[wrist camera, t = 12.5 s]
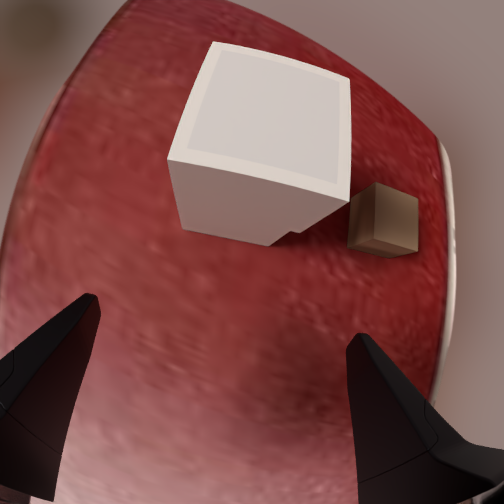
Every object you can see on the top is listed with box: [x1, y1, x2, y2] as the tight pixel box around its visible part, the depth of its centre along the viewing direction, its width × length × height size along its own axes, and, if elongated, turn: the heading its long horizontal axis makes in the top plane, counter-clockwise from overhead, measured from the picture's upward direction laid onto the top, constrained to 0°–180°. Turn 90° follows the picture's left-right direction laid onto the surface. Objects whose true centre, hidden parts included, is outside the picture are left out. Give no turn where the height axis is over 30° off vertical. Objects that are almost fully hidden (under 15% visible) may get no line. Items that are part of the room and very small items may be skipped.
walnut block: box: [347, 182, 418, 258], centre depth 18 cm, size 4×4×4 cm
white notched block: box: [167, 42, 351, 246], centre depth 14 cm, size 6×6×10 cm
